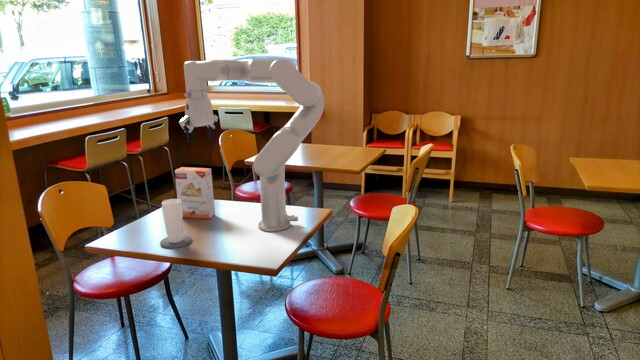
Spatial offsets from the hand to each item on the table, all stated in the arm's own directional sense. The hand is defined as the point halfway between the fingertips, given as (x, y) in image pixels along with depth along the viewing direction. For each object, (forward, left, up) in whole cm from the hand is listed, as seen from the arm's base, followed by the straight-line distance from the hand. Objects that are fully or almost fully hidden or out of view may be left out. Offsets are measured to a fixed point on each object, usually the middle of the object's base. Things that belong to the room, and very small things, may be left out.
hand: (201, 140), depth 169 cm
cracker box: (+6, -12, -34) cm, 37 cm away
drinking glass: (+10, +16, -34) cm, 39 cm away
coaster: (+10, +16, -34) cm, 39 cm away
